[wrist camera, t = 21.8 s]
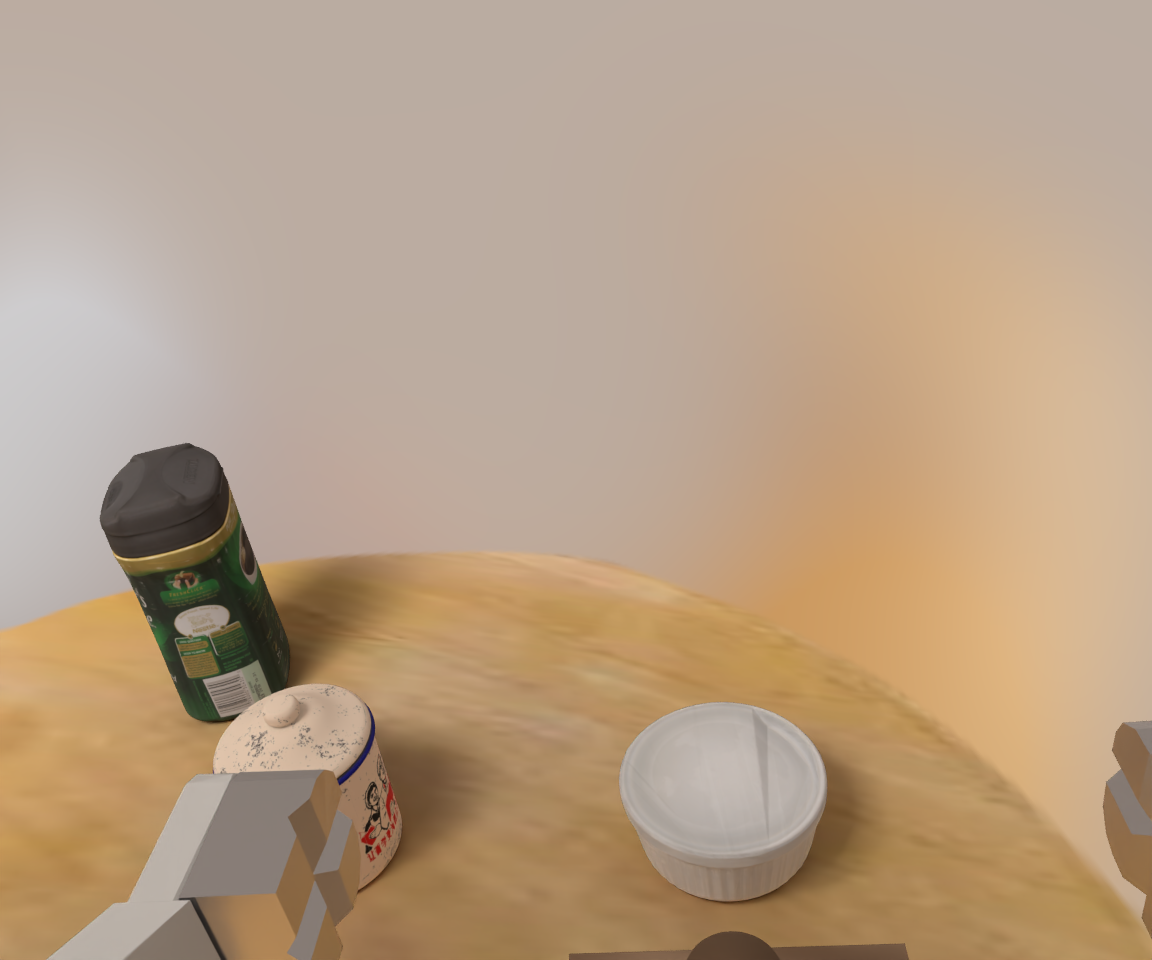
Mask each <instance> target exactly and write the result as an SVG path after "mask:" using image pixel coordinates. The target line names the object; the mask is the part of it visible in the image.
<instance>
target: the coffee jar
mask: <svg viewBox="0 0 1152 960" xmlns="http://www.w3.org/2000/svg"><path fill="white" fill-rule="evenodd" d="M100 522H101V526H102V529H103V530H104V532H105V534H106V537H107V539H108V542H109V544H110V547H111V549H112V551H113V554H114V556H115V558H116V559H117V561H118V563H119V564H120V565H121V567H122V569H123V570H124V572H125V574H126V576H127V578H128V579H129V581H130V583H131V585H132V587H133V590H134V592H135V594H136V596H137V598H138V600H139V602H140V605H141V607H142V609H143V611H144V614H145V616H146V618H147V620H148V623H149V625H150V627H151V629H152V632H153V634H154V636H155V638H156V641H157V643H158V645H159V648H160V650H161V652H162V655H163V657H164V660H165V662H166V665H167V667H168V670H169V672H170V674H171V677H172V679H173V681H174V684H175V686H176V689H177V691H178V693H179V696H180V698H181V700H182V702H183V705H184V707H185V709H186V711H187V713H188V714H189V715H190V716H192V717H193V718H195V719H198V720H202V721H224V720H230V719H234V718H237V717H238V716H239V715H240V714H241V713H242V712H244V711H245V710H246V709H247V708H249V707H250V706H252V705H253V704H255V703H256V702H258V701H259V700H261V699H263V698H265V697H267V696H269V695H271V694H273V693H276V692H278V691H281V690H284V689H285V686H286V683H287V679H288V673H289V665H290V654H289V645H288V640H287V637H286V634H285V631H284V629H283V626H282V623H281V621H280V618H279V616H278V614H277V611H276V609H275V606H274V604H273V601H272V599H271V596H270V594H269V592H268V589H267V586H266V584H265V581H264V579H263V576H262V574H261V571H260V568H259V566H258V563H257V561H256V558H255V555H254V553H253V550H252V548H251V545H250V542H249V540H248V537H247V534H246V532H245V529H244V526H243V523H242V521H241V518H240V515H239V512H238V510H237V507H236V504H235V501H234V498H233V495H232V492H231V490H230V487H229V484H228V481H227V479H226V477H225V475H224V472H223V468H222V467H221V465H220V463H219V461H218V460H217V458H216V457H215V456H214V455H213V454H212V453H210V452H208V451H206V450H204V449H202V448H199V447H195V446H193V445H192V444H190V443H185V444H181V445H175V446H171V447H166V448H161V449H157V450H153V451H149V452H145V453H141V454H137V455H135V456H133V457H132V459H131V460H130V462H129V463H128V464H127V465H126V466H125V467H124V468H123V469H121V471H120V472H119V473H118V474H117V475H116V476H115V477H114V479H113V480H112V482H111V483H110V485H109V487H108V490H107V493H106V495H105V498H104V501H103V505H102V510H101V515H100Z"/></svg>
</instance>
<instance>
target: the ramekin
mask: <svg viewBox="0 0 1152 960" xmlns="http://www.w3.org/2000/svg"><path fill="white" fill-rule="evenodd" d="M619 787H620V794H621V799H622V803H623V806H624V809H625V812H626V814H627V816H628V818H629V820H630V822H631V823H632V825H633V826H634V827H635V829H636V831H637V834H638V836H639V839H640V841H641V844H642V846H643V849H644V851H645V852H646V855H647V857H648V859H649V860H650V861H651V863H652V865H653V867H654V868H655V869H656V870H657V871H658V872H659V874H660V875H661V876H663V877H664V878H666V879H667V881H668V882H669V883H671V884H673V885H675V886H676V887H677V888H679V889H681V890H683V891H685V892H687V893H689V894H692V895H694V896H697V897H700V898H705V899H708V900H716V901H741V900H748V899H752V898H756V897H760V896H762V895H764V894H767V893H770V892H771V891H773V890H775V889H777V888H779V887H780V886H781V885H783V884H784V883H786V882H787V881H788V880H789V879H790V878H791V877H792V876H794V875H795V874H796V872H797V871H798V869H800V868H801V867H802V865H803V863H804V861H805V859H806V858H807V856H808V853H809V850H810V848H811V845H812V842H813V838H814V834H815V831H816V827H817V825H818V823H819V821H820V819H821V817H822V814H823V811H824V808H825V804H826V798H827V776H826V770H825V766H824V763H823V760H822V758H821V755H820V753H819V751H818V750H817V748H816V746H815V745H814V744H813V742H812V741H811V740H810V739H809V738H808V736H807V735H806V734H804V733H803V732H802V731H801V730H800V729H799V728H798V727H797V726H795V725H794V724H793V723H791V722H790V721H788V720H787V719H785V718H783V717H782V716H780V715H778V714H775V713H773V712H771V711H768V710H765V709H762V708H759V707H756V706H752V705H747V704H740V703H731V702H713V703H704V704H698V705H693V706H689V707H685V708H682V709H679V710H676V711H674V712H672V713H669V714H667V715H665V716H663V717H661V718H660V719H658V720H656V721H655V722H653V723H652V724H650V725H649V726H648V727H646V728H645V729H644V730H643V731H642V732H641V733H640V734H639V735H638V736H637V737H636V738H635V740H634V741H633V742H632V744H631V745H630V746H629V748H628V749H627V751H626V753H625V756H624V759H623V761H622V764H621V768H620V776H619Z"/></svg>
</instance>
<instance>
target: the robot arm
mask: <svg viewBox="0 0 1152 960" xmlns="http://www.w3.org/2000/svg"><path fill="white" fill-rule="evenodd" d="M1112 751H1113V753H1114V755H1115V757H1116V759H1117V761H1118V763H1119V765H1120V767H1121V770H1120V771H1118V772H1117V773H1116V774H1115V775H1114V776H1113V777H1111V779H1109V780H1108V781H1107V782H1106V788H1105V795H1104V803H1103V809H1104V819H1105V826H1106V834H1107V838H1108V841H1109V844H1110V847H1111V850H1112V854H1113V856H1114V859H1115V861H1116V863H1117V865H1118V868H1119V870H1120V872H1121V874H1122V876H1123V878H1125V879H1126V880H1127V881H1129V882H1130V883H1131V884H1133V885H1134V886H1135V887H1137V888H1138V889H1139V890H1141V891H1142V892H1143V893H1145V894H1146V895H1147V896H1146V901H1145V906H1144V910H1143V914H1142V919H1143V922H1144V924H1145V926H1146V928H1147V930H1148V932H1149V934H1150V936H1151V938H1152V721H1142V722H1128V723H1122V725H1121V726H1120V727H1119V729H1118V730H1117V731H1116V735H1115V739H1114V744H1113V749H1112ZM341 795H342V791H341V788H340V786H339V784H338V781H337V779H336V777H335V774H334V772H333V771H329V770H293V771H261V772H240V773H221V774H197V775H196V776H195V777H193V778H192V779H191V780H190V781H189V782H188V783H187V784H186V785H185V786H184V788H183V790H182V792H181V794H180V796H179V798H178V800H177V802H176V804H175V806H174V808H173V810H172V812H171V814H170V816H169V818H168V820H167V822H166V824H165V827H164V829H163V831H162V833H161V835H160V837H159V839H158V841H157V843H156V845H155V847H154V849H153V851H152V853H151V855H150V857H149V859H148V861H147V863H146V865H145V867H144V869H143V871H142V873H141V875H140V877H139V879H138V881H137V883H136V885H135V887H134V889H133V891H132V893H131V895H130V897H129V899H128V902H124V903H114V904H112V905H111V906H110V907H109V908H108V909H106V910H105V911H104V912H103V913H102V914H100V915H99V916H98V917H97V918H96V919H94V920H93V921H92V922H91V923H90V924H88V925H87V926H86V927H85V928H84V929H82V930H81V931H80V932H79V933H78V934H76V935H75V936H74V937H73V938H72V939H70V940H69V941H68V942H67V943H66V944H64V945H63V946H62V947H61V948H60V949H58V950H57V951H56V952H55V953H54V954H52V955H51V956H50V957H49V958H48V959H46V960H339V958H340V955H341V951H342V947H343V945H342V943H341V940H340V938H339V936H338V933H337V931H336V928H335V926H336V925H337V924H338V923H339V922H340V921H341V920H342V919H343V918H344V917H345V916H346V915H347V914H348V913H349V912H350V911H351V910H352V909H353V907H354V903H355V899H356V895H357V891H358V887H359V881H360V865H361V853H360V846H359V839H358V834H357V831H356V829H355V826H354V823H353V820H351V819H350V818H349V817H347V816H346V815H344V814H343V813H342V812H340V811H339V810H337V808H338V804H339V801H340V798H341Z"/></svg>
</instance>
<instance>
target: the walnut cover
mask: <svg viewBox="0 0 1152 960" xmlns="http://www.w3.org/2000/svg"><path fill="white" fill-rule="evenodd" d="M569 960H909V959H908V955H907V950H906V946H905V944H877V945H844V946H811V947H778V948H771V947H770V946H769V945H768V944H767V943H765V942H764V941H762V940H761V939H759V938H757V937H755V936H753V935H750V934H747V933H743V932H731V931H730V932H722V933H717V934H714V935H712V936H710V937H708V938H706V939H704V940H703V941H701V942H700V943H699V944H698V945H697V946H696V947H695V948H694V949H693V950H680V951H647V952H614V953H582V954H569Z"/></svg>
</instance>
